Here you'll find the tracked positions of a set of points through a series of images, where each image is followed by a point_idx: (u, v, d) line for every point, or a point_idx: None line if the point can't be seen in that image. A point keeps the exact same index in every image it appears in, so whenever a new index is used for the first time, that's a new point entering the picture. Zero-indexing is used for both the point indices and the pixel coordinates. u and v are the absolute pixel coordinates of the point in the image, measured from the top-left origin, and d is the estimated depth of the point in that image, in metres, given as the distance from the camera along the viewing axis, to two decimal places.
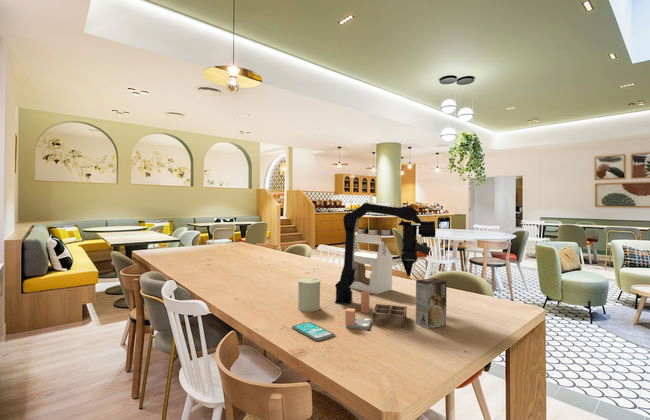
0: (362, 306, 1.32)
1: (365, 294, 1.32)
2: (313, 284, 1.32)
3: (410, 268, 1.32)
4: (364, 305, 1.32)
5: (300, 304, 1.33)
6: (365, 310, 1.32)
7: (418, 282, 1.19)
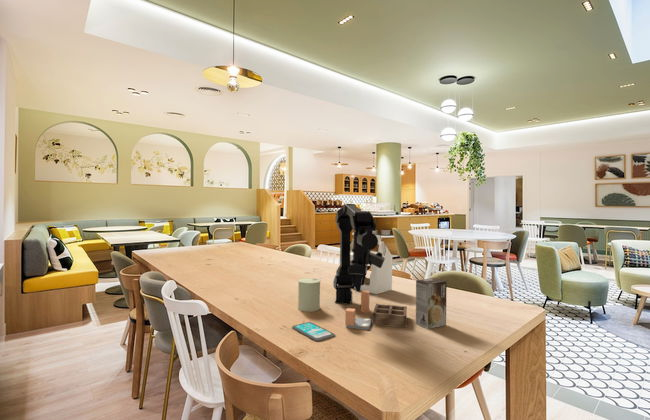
0: (362, 306, 1.32)
1: (365, 294, 1.32)
2: (313, 284, 1.32)
3: (359, 283, 1.14)
4: (364, 305, 1.32)
5: (300, 304, 1.33)
6: (365, 310, 1.32)
7: (418, 282, 1.19)
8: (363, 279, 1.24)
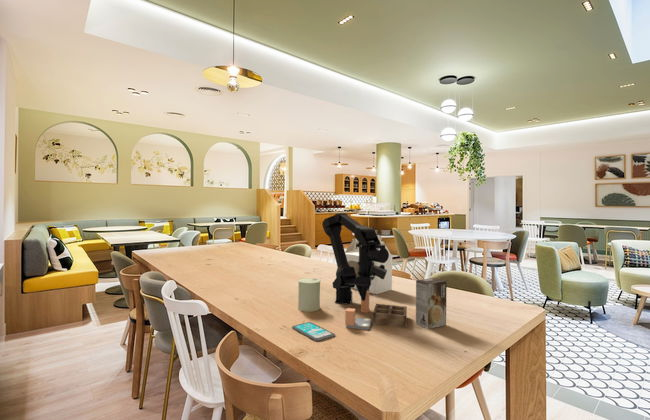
0: (362, 306, 1.32)
1: None
2: (313, 284, 1.32)
3: (364, 293, 1.28)
4: (364, 305, 1.32)
5: (300, 304, 1.33)
6: (365, 310, 1.32)
7: (418, 282, 1.19)
8: (367, 289, 1.38)
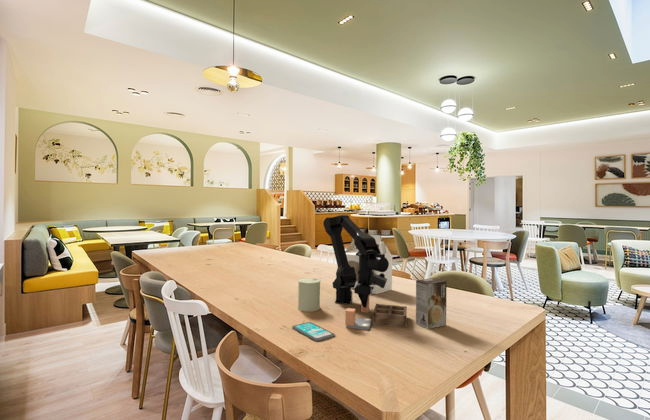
0: (362, 306, 1.32)
1: None
2: (313, 284, 1.32)
3: (365, 300, 1.30)
4: None
5: (300, 304, 1.33)
6: (365, 310, 1.32)
7: (418, 282, 1.19)
8: None
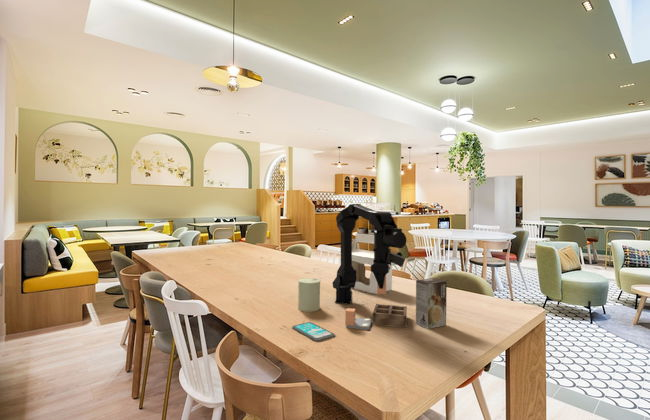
0: (378, 287, 1.21)
1: None
2: (313, 284, 1.32)
3: (382, 280, 1.19)
4: None
5: (300, 304, 1.33)
6: (382, 291, 1.20)
7: (418, 282, 1.19)
8: None
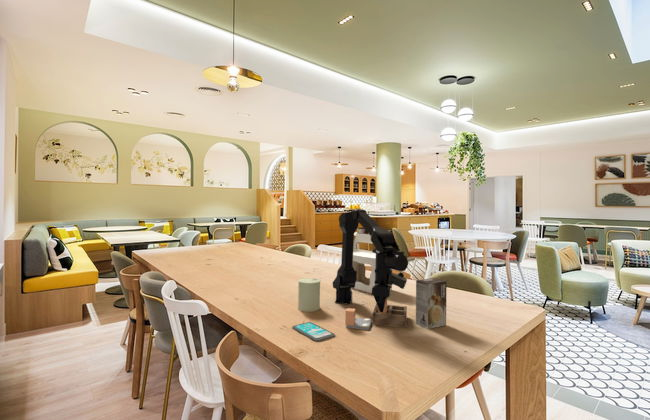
0: None
1: None
2: (313, 284, 1.32)
3: (383, 304, 1.16)
4: None
5: (300, 304, 1.33)
6: None
7: (418, 282, 1.19)
8: None
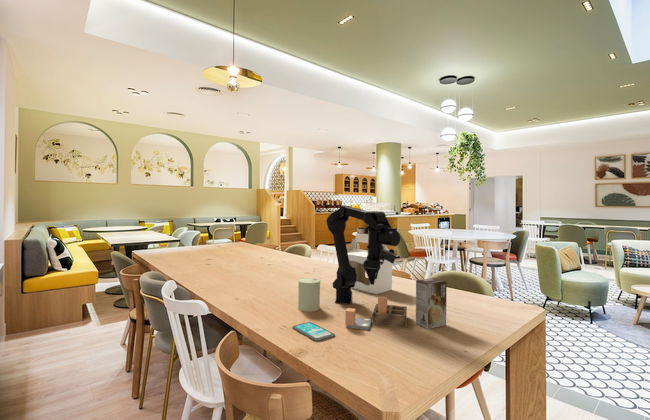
0: None
1: (383, 301, 1.19)
2: (313, 284, 1.32)
3: (373, 277, 1.25)
4: None
5: (300, 304, 1.33)
6: None
7: (418, 282, 1.19)
8: (376, 273, 1.35)
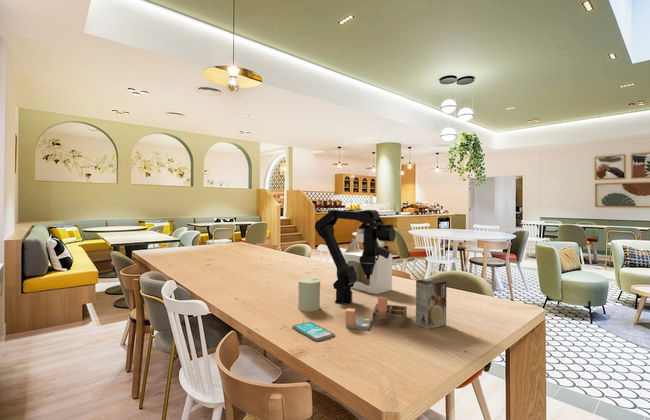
0: None
1: (383, 301, 1.19)
2: (313, 284, 1.32)
3: (369, 271, 1.32)
4: None
5: (300, 304, 1.33)
6: None
7: (418, 282, 1.19)
8: (372, 269, 1.42)
